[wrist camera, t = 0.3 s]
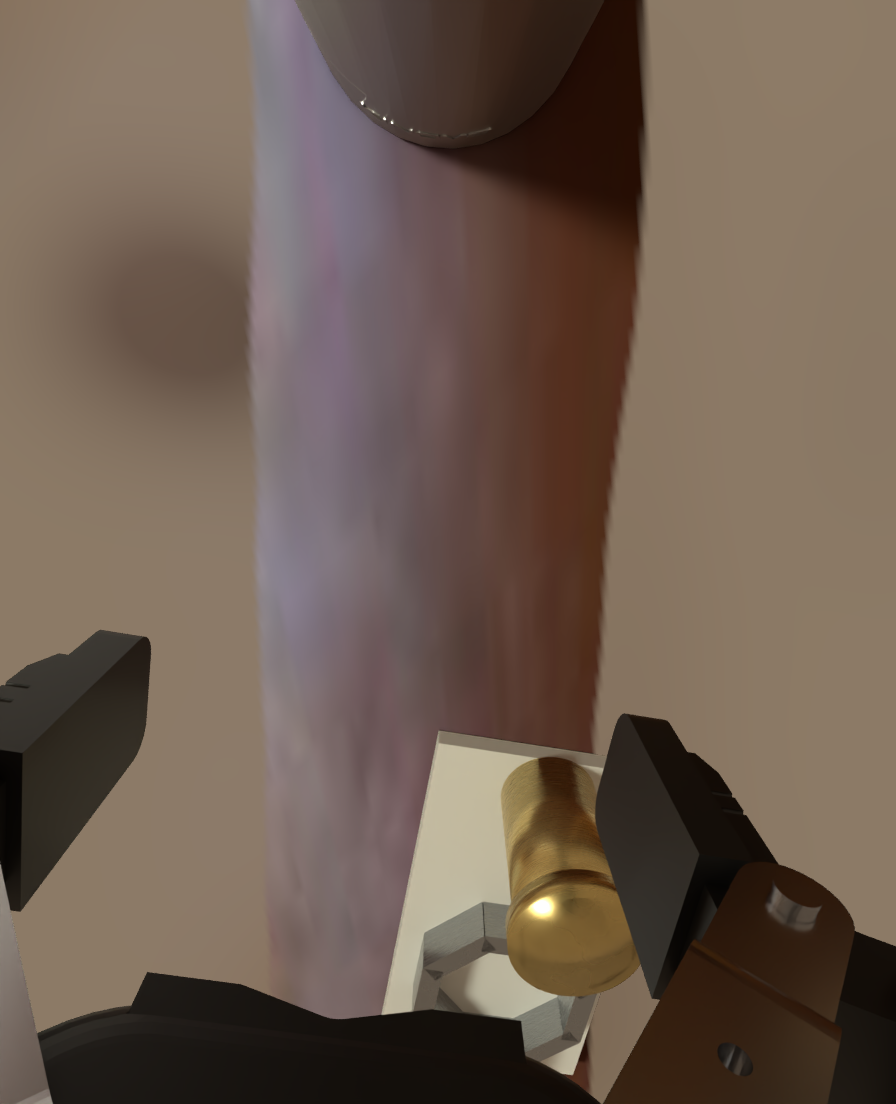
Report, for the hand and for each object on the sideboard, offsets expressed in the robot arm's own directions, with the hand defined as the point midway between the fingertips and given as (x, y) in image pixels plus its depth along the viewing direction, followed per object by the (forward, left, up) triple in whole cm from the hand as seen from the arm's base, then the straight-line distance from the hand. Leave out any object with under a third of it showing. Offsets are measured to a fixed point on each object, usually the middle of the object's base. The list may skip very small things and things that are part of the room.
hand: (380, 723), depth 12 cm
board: (+22, +8, -18) cm, 29 cm away
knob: (+14, +8, -17) cm, 23 cm away
